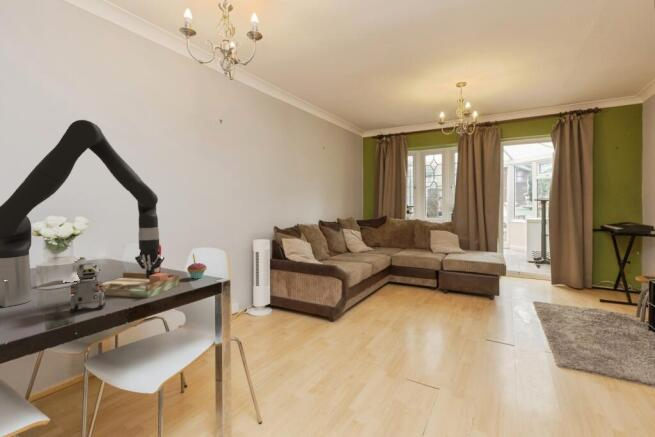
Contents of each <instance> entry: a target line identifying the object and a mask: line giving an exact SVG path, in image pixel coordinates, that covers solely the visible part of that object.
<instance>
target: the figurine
mask: <svg viewBox="0 0 655 437" xmlns="http://www.w3.org/2000/svg"><path fill="white" fill-rule="evenodd" d="M100 271H101V269H100V268H99V267H98V265H96V264H94V263H92V262H89V263H88V262H87V263H85V264H83V265H82V264H81V265H80V266H79V268H78V269H77V275H78V277H79V279H80V281H79V282H77V281H74V282H73V283H71V284H70V295H71V297H70V309H69V313H71V314H72V313H76V312H77V310H79V308H80V307H79V304H82V303H84V304H85V303H91V302H97V301H98V306H97V308H98V309H99V310H103V309H104V307H105V306H106V301H105V298H106V297H105V295H104V293H103V291H105V288H104V286H103V284H102V283H103V282H102V281H99V280H98V279H97V278H98V276H99V274H100ZM81 279H84V280H82V281H81ZM93 279H94V280H93ZM101 292H102V293H101Z"/></svg>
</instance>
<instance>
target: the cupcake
mask: <svg viewBox="0 0 655 437" xmlns="http://www.w3.org/2000/svg"><path fill="white" fill-rule="evenodd" d="M192 258H193V263H192V264H189V265H188V267H187V268H186V270H187V272H188V273H189V275H190V278H191V279H192V278H194V279H193V280H198V279H197V278H200V279H202V278H203V276H204V273H205V272H206V271H207V267H208V266H207V265H206V264H204V263H198V262H196V258H195V254H194V253H192Z"/></svg>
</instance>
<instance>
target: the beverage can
mask: <svg viewBox="0 0 655 437" xmlns="http://www.w3.org/2000/svg"><path fill="white" fill-rule="evenodd" d="M158 251H159V253H160V254H159V255H160V256H161V257H162V246H161V244H159V249H158ZM156 261H157V260H156ZM161 266H162V264H161V265H160V266H159V268H156V269H154V274H156V273H161V268H162V267H161Z"/></svg>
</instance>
